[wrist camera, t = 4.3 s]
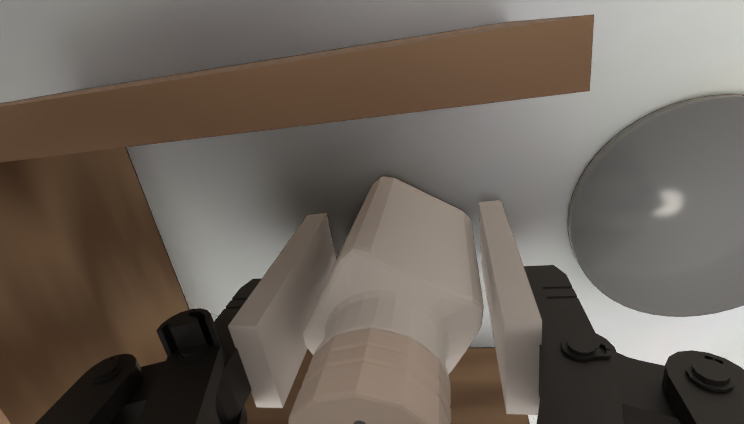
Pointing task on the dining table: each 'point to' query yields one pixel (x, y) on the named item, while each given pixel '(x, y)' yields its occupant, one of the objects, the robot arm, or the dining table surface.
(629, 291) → the slate coaster
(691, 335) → the dining table surface
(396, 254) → the pepper shaker
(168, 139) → the wooden u-shaped frame
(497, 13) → the dining table surface
